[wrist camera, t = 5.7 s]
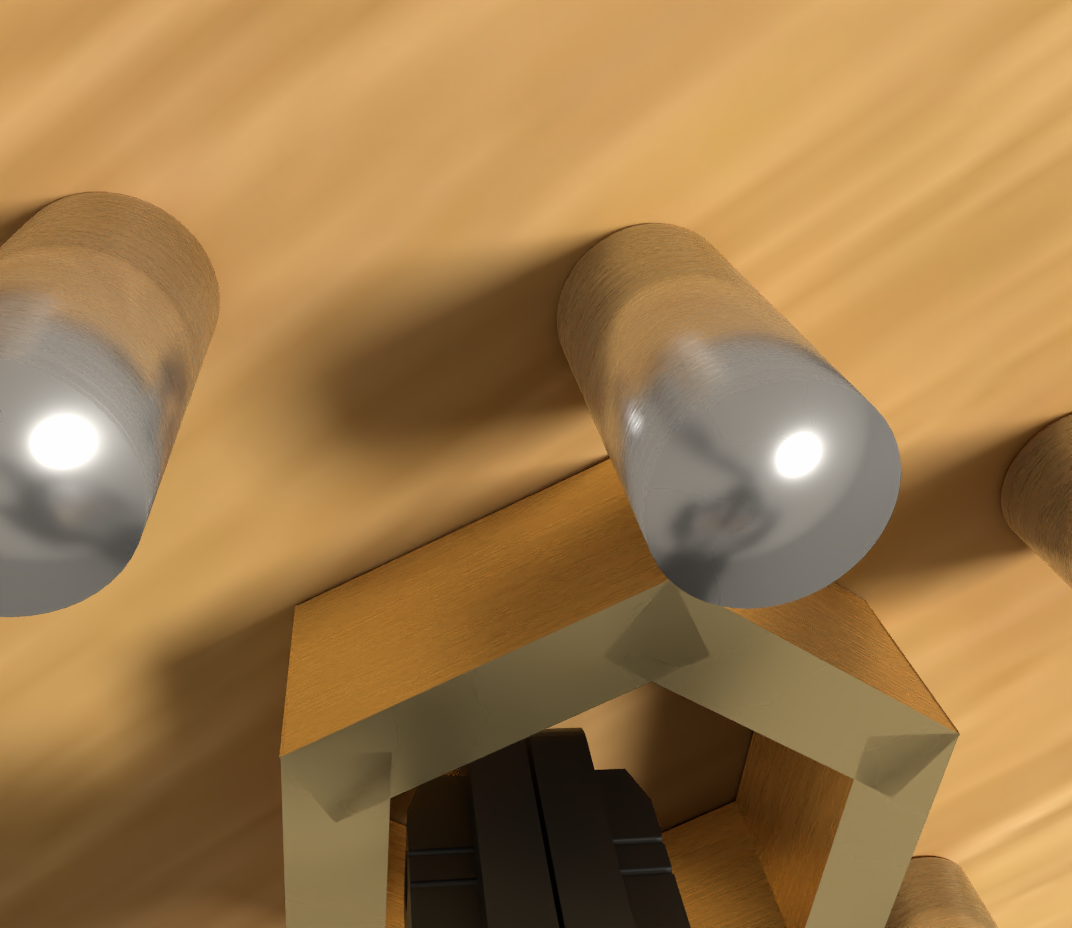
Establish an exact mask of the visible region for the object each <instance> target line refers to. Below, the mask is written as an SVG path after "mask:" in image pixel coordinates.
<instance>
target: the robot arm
mask: <svg viewBox="0 0 1072 928" xmlns="http://www.w3.org/2000/svg"><path fill="white" fill-rule="evenodd" d="M404 925H405V928H691V926H690V923H689V920H688V917H687V914H686V910H685V907H684V904H683V901H682V898H681V894H680V891H679V888H678V885H677V882H676V878H675V875H674V874H672V866H671V862H670V859H669V856H668V853H667V849H666V846H665V844H663V842H662V833H661V830H660V827H659V824H658V821H657V817H656V814H655V811H654V808H653V805H652V801H651V799H650V798H649V797H648V796H647V794H646V793H645V792H644V791H643V790H642V788H641V787H640V786H639V785H638V784H637V782H636V781H635V780H634V779H633V778H632V777H631V775H630V774H629V773H628V772H627V771H626V769H608V770H594V766H593V762H592V758H591V754H590V750H589V747H588V743H587V739H586V736H585V733H584V731H583V729H582V728H556V729H544V730H542V731H540V732H537V733H535V734H533V735H531V736H529V737H526V738H524V739H522V740H520V741H517V742H515V743H513V744H511V745H508V746H506V747H504V748H502V749H499V750H497V751H495V752H493V753H491V754H488V755H486V756H484V757H482V758H479V759H477V760H475V761H473V762H470V763H468V764H466V765H464V766H461V767H460V773H459V776H440V777H437V778H435V779H432V780H430V781H428V782H426V783H423V784H421V785H419V787H418V789H417V791H416V793H415V795H414V798H413V800H412V802H411V804H410V806H409V808H408V810H407V825H406V849H405V873H404Z"/></svg>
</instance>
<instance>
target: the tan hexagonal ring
mask: <svg viewBox="0 0 1072 928" xmlns="http://www.w3.org/2000/svg"><path fill="white" fill-rule="evenodd" d="M649 682H654V683H656V684H658V685H660V686H662V687H664V688H666V689H669V690H671V691H673V692H675V693H677V694H679V695H681V696H683V697H685V698H687V699H689V700H691V701H693V702H695V703H697V704H699V705H702V706H704V707H706V708H708V709H710V710H712V711H714V712H716V713H718V714H720V715H722V716H724V717H726V718H728V719H730V720H733V721H735V722H737V723H739V724H741V725H743V726H745V727H747V728H749V729H751V730H753V731H754V732H753V736H752V740H751V743H750V747H749V751H748V755H747V759H746V763H745V767H744V771H743V774H742V778H741V782H740V786H739V790H738V794H737V798H736V801H735V802H732V803H730V804H728V805H725V806H723V807H721V808H718V809H716V810H714V811H711V812H709V813H707V814H705V815H702V816H700V817H698V818H695V819H693V820H691V821H688V822H686V823H684V824H681V825H679V826H677V827H674V828H672V829H670V830H668V831H665V832H663V833H662V842H663V844H665V846H666V849H667V853H668V856H669V859H670V862H671V866H672V874H674V875H675V878H676V882H677V885H678V888H679V891H680V894H681V898H682V901H683V904H684V907H685V910H686V914H687V917H688V920H689V923H690V926H691V928H885V925H886V923H887V920H888V917H889V915H890V912H891V910H892V907H893V904H894V902H895V899H896V897H897V894H898V891H899V889H900V886H901V884H902V881H903V878H904V876H905V873H906V871H907V868H908V866H909V863H910V860H911V858H912V855H913V853H914V850H915V847H916V845H917V842H918V840H919V837H920V834H921V832H922V829H923V827H924V824H925V822H926V819H927V816H928V814H929V811H930V809H931V806H932V803H933V801H934V798H935V796H936V793H937V790H938V788H939V785H940V783H941V780H942V778H943V775H944V772H945V770H946V767H947V765H948V762H949V759H950V757H951V754H952V752H953V749H954V746H955V744H956V741H957V739H958V736H959V735H960V734H959V732H958V730H957V729H956V727H955V726H954V725H953V723H952V722H951V720H950V719H949V718H948V716H947V715H946V713H945V712H944V711H943V709H942V708H941V706H940V705H939V703H938V702H937V701H936V699H935V698H934V696H933V695H932V694H931V692H930V691H929V689H928V688H927V687H926V685H925V684H924V682H923V681H922V679H921V678H920V677H919V675H918V674H917V672H916V671H915V670H914V668H913V667H912V665H911V664H910V663H909V661H908V660H907V658H906V657H905V655H904V654H903V653H902V651H901V650H900V648H899V647H898V646H897V644H896V643H895V641H894V640H893V639H892V637H891V636H890V634H889V633H888V632H887V630H886V629H885V627H884V626H883V624H882V623H881V622H880V620H879V619H878V617H877V616H876V615H875V613H874V612H873V610H872V609H871V608H870V606H869V605H868V603H867V602H866V600H862V599H861V598H859V597H857V596H856V595H854V594H852V593H850V592H849V591H847V590H845V589H844V588H842V587H840V586H839V585H837V584H835V583H833V582H832V583H831V584H829V585H828V586H826V587H824V588H822V589H820V590H818V591H816V592H814V593H812V594H810V595H808V596H805V597H803V598H800V599H798V600H795V601H792V602H788V603H785V604H781V605H776V606H770V607H765V608H751V609H743V608H729V607H723V606H717V605H714V604H711V603H707V602H704V601H702V600H699V599H697V598H695V597H693V596H691V595H689V594H687V593H686V592H684V591H683V590H681V589H680V588H678V587H677V586H676V585H675V584H674V583H672V582H671V581H670V580H669V579H668V578H667V577H666V576H665V574H664V573H663V572H662V571H661V570H660V568H659V567H658V565H657V563H656V562H655V560H654V558H653V557H652V554H651V552H650V550H649V547H648V545H647V543H646V540H645V538H644V536H643V533H642V531H641V529H640V527H639V524H638V522H637V520H636V517H635V515H634V513H633V510H632V508H631V506H630V504H629V501H628V499H627V497H626V494H625V492H624V490H623V487H622V485H621V483H620V480H619V478H618V476H617V474H616V471H615V469H614V467H613V464H612V462H611V460H610V459H608V460H606V461H604V462H602V463H599V464H597V465H595V466H593V467H591V468H589V469H587V470H585V471H582V472H580V473H578V474H576V475H574V476H572V477H570V478H567V479H565V480H563V481H561V482H559V483H557V484H555V485H553V486H550V487H548V488H546V489H544V490H542V491H540V492H538V493H536V494H533V495H531V496H529V497H527V498H525V499H523V500H521V501H519V502H516V503H514V504H512V505H510V506H508V507H506V508H504V509H502V510H499V511H497V512H495V513H493V514H491V515H489V516H487V517H485V518H482V519H480V520H478V521H476V522H474V523H472V524H470V525H468V526H465V527H463V528H461V529H459V530H457V531H455V532H453V533H451V534H448V535H446V536H444V537H442V538H440V539H438V540H436V541H434V542H431V543H429V544H427V545H425V546H423V547H421V548H419V549H416V550H414V551H412V552H410V553H408V554H406V555H404V556H402V557H399V558H397V559H395V560H393V561H391V562H389V563H387V564H385V565H382V566H380V567H378V568H376V569H374V570H372V571H370V572H368V573H365V574H363V575H361V576H359V577H357V578H355V579H353V580H351V581H348V582H346V583H344V584H342V585H340V586H338V587H336V588H334V589H331V590H329V591H327V592H325V593H323V594H321V595H319V596H317V597H314V598H312V599H310V600H308V601H306V602H304V603H302V604H300V605H296V606H295V611H294V621H293V630H292V640H291V650H290V659H289V669H288V678H287V688H286V698H285V707H284V717H283V726H282V736H281V746H280V755H279V758H280V759H281V789H282V819H283V850H284V881H285V912H286V928H405V925H404V873H405V849H406V826H405V825H402V824H400V823H397V822H394V821H392V820H389V816H390V798H392V797H394V796H397V795H399V794H401V793H403V792H406V791H408V790H410V789H412V788H414V787H417V786H419V785H421V784H423V783H426V782H428V781H430V780H432V779H435V778H437V777H439V776H441V775H444V774H446V773H448V772H450V771H453V770H455V769H457V768H459V767H461V766H464V765H466V764H468V763H470V762H473V761H475V760H477V759H479V758H482V757H484V756H486V755H488V754H491V753H493V752H495V751H497V750H499V749H502V748H504V747H506V746H508V745H511V744H513V743H515V742H517V741H520V740H522V739H524V738H526V737H529V736H531V735H533V734H535V733H537V732H540V731H542V730H544V729H546V728H549V727H551V726H553V725H555V724H558V723H560V722H562V721H564V720H567V719H569V718H571V717H573V716H576V715H578V714H580V713H582V712H584V711H587V710H589V709H591V708H593V707H596V706H598V705H600V704H602V703H605V702H607V701H609V700H611V699H614V698H616V697H618V696H620V695H622V694H625V693H627V692H629V691H631V690H634V689H636V688H638V687H640V686H643V685H645V684H647V683H649Z"/></svg>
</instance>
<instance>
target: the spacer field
mask: <svg viewBox="0 0 1072 928" xmlns="http://www.w3.org/2000/svg"><path fill="white" fill-rule="evenodd" d="M219 299H220V296H219V288H218V282H217V279H216V275H215V272H214V269H213V267H212V264H211V262H210V260H209V258H208V256H207V254H206V253H205V251H204V249H203V247H202V246H201V245H200V243H199V242H198V241H197V239H196V238H195V237H194V236H193V235H192V234H191V233H190V232H189V231H188V229H187V228H186V227H185V226H183V225H182V224H181V223H180V222H179V221H177V220H176V219H175V218H174V217H172V216H171V215H169V214H168V213H166V212H165V211H163V210H162V209H160V208H158V207H156V206H154V205H152V204H150V203H148V202H145V201H143V200H140V199H137V198H134V197H130V196H126V195H122V194H116V193H107V192H90V193H82V194H76V195H72V196H69V197H65V198H62V199H60V200H57V201H55V202H53V203H51V204H49V205H48V206H46V207H44V208H43V209H41V210H40V211H38V212H37V213H36V214H35V215H34V216H33V217H31V218H30V219H29V220H28V221H27V222H26V223H25V224H24V225H23V226H22V227H21V228H20V229H19V230H18V231H17V232H16V233H14V234H13V235H12V236H11V237H10V238H9V239H8V240H7V241H6V242H5V243H4V244H3V245H2V246H1V247H0V617H20V616H31V615H37V614H43V613H49V612H52V611H56V610H59V609H63V608H66V607H69V606H71V605H73V604H76V603H78V602H81V601H83V600H85V599H86V598H88V597H90V596H92V595H94V594H95V593H97V592H98V591H100V590H101V589H102V588H104V587H105V586H106V585H108V584H109V583H110V582H111V581H112V580H113V579H114V578H115V577H116V576H117V575H118V574H119V573H120V572H121V571H122V570H123V569H124V567H125V566H126V565H127V563H128V562H129V561H130V559H131V558H132V556H133V554H134V552H135V550H136V548H137V546H138V544H139V541H140V539H141V536H142V533H143V530H144V527H145V524H146V522H147V519H148V516H149V513H150V510H151V508H152V505H153V502H154V499H155V496H156V493H157V491H158V488H159V485H160V482H161V479H162V477H163V474H164V471H165V468H166V465H167V462H168V460H169V457H170V454H171V451H172V448H173V445H174V443H175V440H176V437H177V434H178V431H179V429H180V426H181V423H182V420H183V417H184V414H185V412H186V409H187V406H188V403H189V400H190V398H191V395H192V392H193V389H194V386H195V383H196V381H197V378H198V375H199V372H200V369H201V367H202V364H203V361H204V358H205V355H206V352H207V350H208V347H209V344H210V341H211V338H212V335H213V333H214V330H215V327H216V323H217V320H218V314H219ZM557 329H558V336H559V340H560V344H561V346H562V349H563V351H564V354H565V356H566V358H567V361H568V363H569V365H570V368H571V370H572V372H573V375H574V377H575V379H576V381H577V384H578V386H579V388H580V391H581V393H582V395H583V398H584V400H585V402H586V404H587V407H588V409H589V411H590V414H591V416H592V418H593V421H594V423H595V425H596V428H597V430H598V432H599V434H600V437H601V439H602V441H603V444H604V446H605V448H606V451H607V453H608V455H609V457H610V460H611V462H612V464H613V467H614V469H615V471H616V474H617V476H618V478H619V480H620V483H621V485H622V487H623V490H624V492H625V494H626V497H627V499H628V501H629V504H630V506H631V508H632V510H633V513H634V515H635V517H636V520H637V522H638V524H639V527H640V529H641V531H642V533H643V536H644V538H645V540H646V543H647V545H648V547H649V550H650V552H651V554H652V557H653V558H654V560H655V562H656V563H657V565H658V567H659V568H660V570H661V571H662V572H663V573H664V574H665V576H666V577H667V578H668V579H669V580H670V581H671V582H672V583H674V584H675V585H676V586H677V587H678V588H680V589H681V590H683V591H684V592H686V593H687V594H689V595H691V596H693V597H695V598H697V599H699V600H702V601H704V602H707V603H711V604H714V605H717V606H723V607H729V608H743V609H751V608H765V607H770V606H776V605H781V604H785V603H788V602H792V601H795V600H798V599H800V598H803V597H805V596H808V595H810V594H812V593H814V592H816V591H818V590H820V589H822V588H824V587H826V586H828V585H829V584H831V583H832V582H834V581H835V580H837V579H838V578H840V577H841V576H842V575H844V574H845V573H846V572H848V571H849V570H850V569H851V568H853V567H854V566H855V565H856V564H857V563H858V562H859V561H860V560H861V559H862V558H863V557H864V556H865V555H866V554H867V552H868V551H869V550H870V549H871V548H872V546H873V545H874V544H875V543H876V541H877V540H878V538H879V537H880V535H881V534H882V532H883V531H884V529H885V527H886V525H887V523H888V521H889V519H890V517H891V515H892V512H893V510H894V507H895V504H896V501H897V497H898V493H899V488H900V479H901V463H900V455H899V450H898V446H897V442H896V440H895V437H894V435H893V432H892V430H891V429H890V427H889V425H888V424H887V422H886V420H885V419H884V418H883V416H882V415H881V414H880V413H879V412H878V411H877V410H876V408H875V407H874V406H873V405H872V404H871V403H870V402H869V401H868V400H867V399H866V398H865V397H864V396H863V395H862V394H861V393H860V392H859V391H858V390H857V389H856V388H855V387H854V386H853V385H852V384H851V383H850V382H849V381H848V380H847V379H846V378H845V377H844V376H843V375H842V374H841V373H840V372H839V371H838V370H837V369H836V368H835V367H834V366H833V365H832V364H831V363H830V362H829V361H828V360H827V359H826V358H825V357H824V356H823V355H822V354H821V353H820V352H819V351H818V350H817V349H816V348H815V347H814V346H813V345H812V344H811V343H810V342H809V341H808V340H807V339H806V338H805V337H804V336H803V335H802V334H801V333H800V332H799V331H798V330H797V329H796V328H795V327H794V326H793V325H792V324H791V323H790V322H789V321H788V320H787V319H786V318H785V317H784V316H783V315H782V314H781V313H780V312H779V311H778V310H777V309H776V308H775V307H774V306H773V305H772V304H771V303H770V302H769V301H768V300H767V299H766V298H765V297H764V296H763V295H762V294H761V293H760V292H759V291H758V290H757V289H756V288H755V287H754V286H753V285H752V284H751V283H750V282H749V281H748V280H747V279H746V278H745V277H744V276H743V275H742V274H741V273H740V272H739V271H738V270H737V269H736V268H735V267H734V266H733V265H732V264H731V263H730V262H729V261H728V260H727V259H726V258H725V257H724V256H723V255H722V254H721V253H720V252H719V251H718V250H717V249H716V248H715V247H714V246H713V245H712V244H711V243H709V242H708V241H707V240H706V239H705V238H703V237H701V236H700V235H698V234H696V233H695V232H693V231H690V230H688V229H686V228H683V227H679V226H675V225H670V224H662V223H649V224H642V225H636V226H632V227H628V228H625V229H622V230H620V231H617V232H615V233H613V234H611V235H609V236H607V237H606V238H604V239H602V240H601V241H599V242H598V243H597V244H595V245H594V246H593V247H591V248H590V249H589V250H588V251H587V252H586V253H585V254H584V255H583V256H582V257H581V259H580V260H579V261H578V262H577V263H576V265H575V266H574V268H573V269H572V271H571V272H570V274H569V275H568V277H567V280H566V282H565V284H564V286H563V288H562V292H561V295H560V298H559V303H558V309H557ZM1001 508H1002V513H1003V516H1004V519H1005V521H1006V522H1007V524H1008V526H1009V527H1010V528H1011V529H1012V531H1013V532H1014V533H1015V534H1016V535H1018V536H1019V537H1020V538H1021V539H1022V540H1023V541H1024V542H1025V543H1026V544H1027V545H1028V546H1029V547H1030V548H1031V549H1032V550H1033V551H1034V552H1035V553H1036V554H1037V555H1038V556H1039V557H1040V558H1041V559H1042V560H1043V561H1044V562H1045V563H1046V564H1047V565H1048V566H1049V567H1050V568H1051V569H1052V570H1053V571H1054V572H1055V573H1056V574H1057V575H1058V576H1059V577H1060V578H1061V579H1062V580H1063V581H1065V582H1066V583H1067V584H1068V585H1069V586H1070V587H1071V588H1072V414H1071V415H1069V416H1066V417H1064V418H1062V419H1060V420H1058V421H1056V422H1054V423H1052V424H1051V425H1049V426H1047V427H1046V428H1044V429H1043V430H1042V431H1040V432H1039V433H1038V434H1037V435H1035V436H1034V437H1033V438H1032V439H1031V440H1030V441H1029V442H1028V443H1027V444H1026V445H1025V446H1024V447H1023V448H1022V450H1021V451H1020V452H1019V453H1018V455H1017V456H1016V458H1015V459H1014V460H1013V462H1012V464H1011V466H1010V468H1009V469H1008V472H1007V474H1006V476H1005V479H1004V482H1003V486H1002V492H1001ZM885 928H998V926H997V924H996V923H995V921H994V920H993V918H992V916H991V915H990V913H989V911H988V910H987V908H986V906H985V905H984V903H983V902H982V900H981V898H980V897H979V895H978V893H977V892H976V890H975V889H974V887H973V885H972V884H971V882H970V880H969V879H968V877H967V876H966V874H965V872H964V871H963V869H962V868H961V867H960V866H959V865H957V864H956V863H954V862H953V861H950V860H947V859H944V858H938V857H921V858H915V859H911V860H910V863H909V866H908V868H907V871H906V873H905V876H904V878H903V881H902V884H901V886H900V889H899V891H898V894H897V897H896V899H895V902H894V904H893V907H892V910H891V912H890V915H889V917H888V920H887V923H886V925H885Z"/></svg>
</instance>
